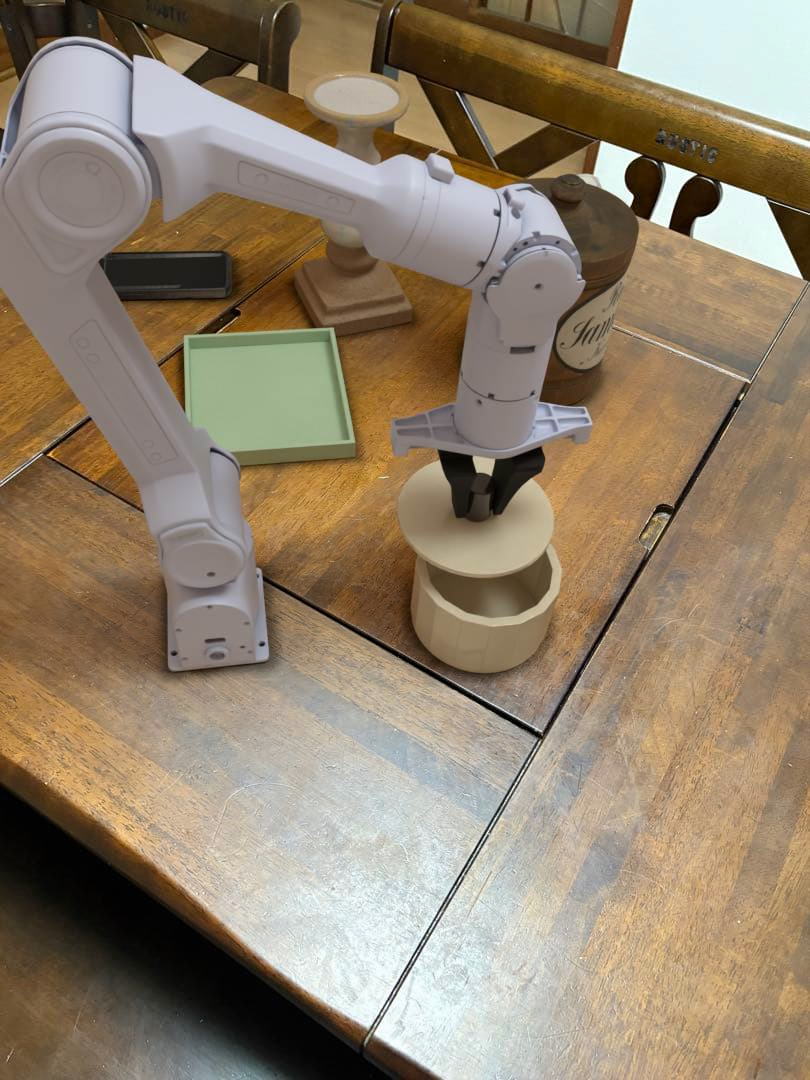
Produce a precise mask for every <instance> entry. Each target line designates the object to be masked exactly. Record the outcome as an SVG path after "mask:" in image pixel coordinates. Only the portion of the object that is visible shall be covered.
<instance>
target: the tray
mask: <svg viewBox="0 0 810 1080" xmlns="http://www.w3.org/2000/svg"><path fill="white" fill-rule="evenodd" d="M183 363H184V365H183V366H184V367H183V368H184V369H183V370H184V407H185V410H184V412H185V414H186V416H187V418H188V419H189V421H190V423H191V425H192V426H193V427H204V428H205V429H206V430H207V432H208V434H209V436H210V437H211V439H212V440H213V441H214V442H215V443H216V444H218V445H219V446H221V447H222V448H224V449H226V450H227V451H229V452H230V453H231V454H233V455H234V457H235V458H236V459H237V461H238V463H239V465H240V467H241V466H254V465H255V466H256V465H268V464H269V465H270V464H282V463H293V462H294V463H295V462H306V461H307V462H308V461H309V462H310V461H322V460H335V459H336V460H337V459H348V458H350V459H351V458H355V457H356V448H357V447H356V445H357V444H356V437H355V432H354V427H353V422H352V416H351V411H350V406H349V401H348V396H347V395H348V394H347V390H346V384H345V380H344V375H343V370H342V364H341V358H340V354H339V348H338V342H337V338H336V337H335V332H334V328H316V327H315V328H299V329H281V330H280V329H278V330H261V331H260V330H259V331H241V332H239V331H238V332H224V333H202V334H184V335H183Z"/></svg>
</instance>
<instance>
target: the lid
mask: <svg viewBox="0 0 810 1080" xmlns="http://www.w3.org/2000/svg"><path fill="white" fill-rule="evenodd" d="M473 462H474V465H475V468H476V472H477V475H478V476H477V477H476V479H475V480H474V482H473V485H472V487H471V490H470V493H469V499H468V508H467V513H466V516H465V518H456V516H455V512H454V508H453V504H452V501H451V500H452V495H451V486H450V484H449V482H448V481H447V479H446V477H445V475H444V472H443V469H442V466H441V462H440V459H438V460H435V461H433V462H430V463H429V464H426V465H424V466H423V467H421V468H419V469H418V470H417V471H416V472H414V473H413V474H412V475H411V476H410V477H409V478H408V479H407V481H405V484H404V485H403V486H402V488H401V491H400V493H399V495H398V499H397V503H396V504H397V505H396V518H397V524H398V527H399V530H400V533H401V534H402V537H403V538H404V540H405V541H406V543H407V545H408V546H409V547H410V548H411V549H412V550H413V551H414V553H416V554H417V555H419V556H421V557H422V558H423V559H425V560H426V561H428V562H429V563H430V564H432V565H434V566H436V567H438V568H440V569H442V570H445V571H447V572H450V573H454V574H457V575H461V576H467V577H475V578H493V577H500V576H505V575H509V574H512V573H515V572H517V571H520V570H522V569H524V568H526V567H528V566H529V565H531V564H532V563H533V562H535V561H536V560H537V559H538V558H539V557H540V556H541V555H542V554H543V553H544V551H545V550H546V548H547V547H548V545H549V543H550V544H551V540H552V537H553V535H554V530H555V514H554V510H553V505H552V503H551V501H550V499H549V497H548V495H547V493H546V492H545V490H544V489H543V488H542V487H541V486H540V484H538V483H537V482H536V481H535V480H534V479H533V478H531V479H530V480H529V481H527V482H526V483H525V484H524V485H523V486H522V487H521V488H520V489H519V490H518V491H517V492H516V494H515V495H514V496H513V498H512V499H511V500H510V502H509V503H508V505H507V506H506V508H505V510H504V511H503V513H502V514H501V515H494V514H493V511H492V506H493V501H494V497H495V492H496V487H497V484H496V481H495V479H494V478H493V477H492V472H493V468H494V463H495V459H490V458H483V457H478V456H473Z"/></svg>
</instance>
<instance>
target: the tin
mask: <svg viewBox="0 0 810 1080" xmlns="http://www.w3.org/2000/svg"><path fill="white" fill-rule="evenodd" d="M413 573H414V574H413V583H412V591H411V599H410V608H409V609H410V615H411V621H412V626H413V629H414V632H415V634H416V636H417V638H418V639H419V641H420V642H421V644H422V645H423V646H424V647H425V648H426V650H428V651H429V653H431V654H432V655H433V656H434V657H435V658H437V659H438V660H439V661H441V662H443V663H445V664H446V665H448V666H451V667H453V668H455V669H458V670H460V671H465V672H470V673H477V674H494V673H499V672H505V671H507V670H510V669H513V668H515V667H517V666H520V665H522V664H523V663H524V662H526V661H527V660H529V658H531V657H532V656H533V655H534V654H535V653H536V652H537V650H539V647H540V646H541V644H542V643H543V641H544V640H545V637H546V634H547V631H548V628H549V625H550V622H551V619H552V616H553V613H554V610H555V607H556V604H557V601H558V598H559V594H560V590H561V583H562V576H563V568H562V566H561V563H560V560H559V556H558V554H557V551H556V549H555V547H554V546H553V545H552V544H551V542H550V543H549V545H548V547H547V548H546V550H545V551H544V553H543V554H542V555H541V556H540V557H539V558H538V559H537V560H536V561H535V562H533V563H532V564H531V565H529V566H528V567H526V568H524V569H522V570H520V571H517V572H515V573H512V574H509V575H505V576H500V577H493V578H475V577H467V576H461V575H457V574H454V573H450V572H447V571H445V570H442V569H440V568H438V567H436V566H434V565H432V564H430V563H429V562H428V561H426V560H425V559H423V558H422V557H421V556H419V555H418V554H417V555H416V559H415V566H414V572H413Z"/></svg>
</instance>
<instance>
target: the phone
mask: <svg viewBox="0 0 810 1080" xmlns="http://www.w3.org/2000/svg"><path fill="white" fill-rule="evenodd" d="M98 263H99V264H100V266H101V268H102V270H103V271H104V273H105V275H106V276H107V278H108V280H109V282H110V283H111V285H112V287H113V289H114V290H115V292H116V294H117V296H118V297H119V299H120V301H122V300H123V301H124V300H125V301H127V300H129V301H130V300H168V299H169V300H171V299H172V300H174V299H177V300H178V299H218V298H219V299H220V298H221V299H222V298H226V297H228V296H230V295H231V294H232V291H233V290H232V287H233V285H232V284H233V283H232V279H233V277H232V276H233V275H232V271H233V270H232V269H233V268H232V256H231V254H230V252H229V251H226V250H175V251H173V250H172V251H171V250H169V251H168V250H167V251H110V252H109V253H107V254H106V255H105V256H104V257H102V258H101V259H100V260H98Z"/></svg>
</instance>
